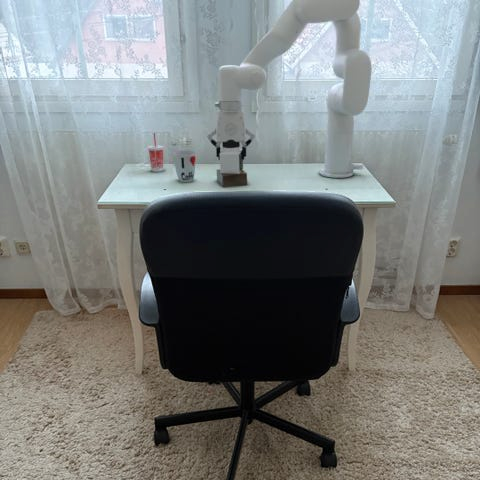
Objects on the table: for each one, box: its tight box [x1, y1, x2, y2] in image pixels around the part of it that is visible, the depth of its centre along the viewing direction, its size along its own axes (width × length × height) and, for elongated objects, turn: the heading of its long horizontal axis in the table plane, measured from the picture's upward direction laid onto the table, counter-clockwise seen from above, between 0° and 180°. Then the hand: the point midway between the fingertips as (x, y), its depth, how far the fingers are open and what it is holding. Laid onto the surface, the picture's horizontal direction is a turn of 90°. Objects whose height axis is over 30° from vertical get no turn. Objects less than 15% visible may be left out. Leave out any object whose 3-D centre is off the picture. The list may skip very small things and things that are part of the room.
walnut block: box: [216, 168, 248, 188], centre depth 187 cm, size 9×9×4 cm
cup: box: [172, 149, 197, 183], centre depth 188 cm, size 8×8×10 cm
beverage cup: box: [147, 132, 164, 173], centre depth 200 cm, size 6×6×14 cm
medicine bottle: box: [219, 140, 244, 174], centre depth 183 cm, size 7×7×12 cm
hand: (231, 158), depth 183 cm, fingers closed on medicine bottle, 8 cm apart
